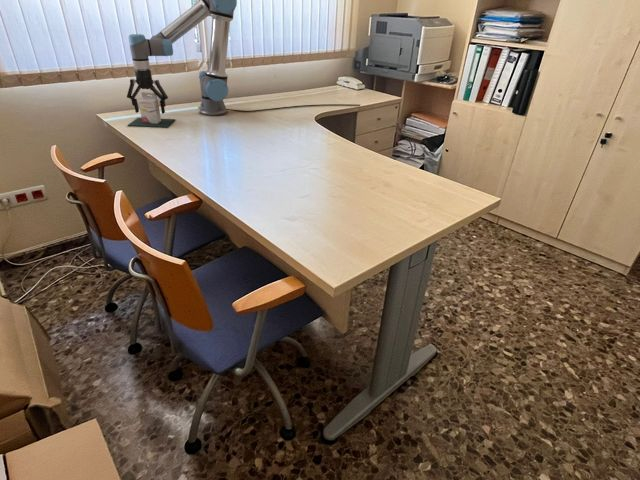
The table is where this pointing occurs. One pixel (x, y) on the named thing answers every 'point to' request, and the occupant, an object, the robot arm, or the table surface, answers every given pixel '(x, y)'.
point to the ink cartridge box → (149, 108)
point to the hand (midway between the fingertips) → (150, 112)
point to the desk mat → (162, 124)
